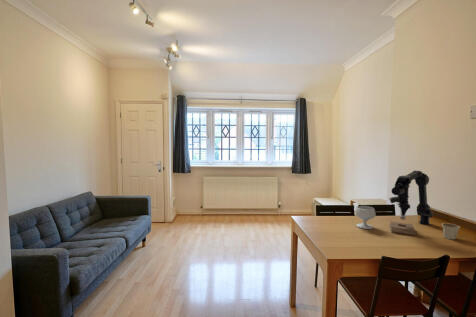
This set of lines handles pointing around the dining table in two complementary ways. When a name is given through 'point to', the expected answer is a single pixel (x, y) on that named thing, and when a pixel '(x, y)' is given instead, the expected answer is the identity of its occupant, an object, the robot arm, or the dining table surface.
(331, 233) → the dining table surface
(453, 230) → the flower pot
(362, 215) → the chalice
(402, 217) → the pin
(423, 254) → the dining table surface
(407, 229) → the bore block
